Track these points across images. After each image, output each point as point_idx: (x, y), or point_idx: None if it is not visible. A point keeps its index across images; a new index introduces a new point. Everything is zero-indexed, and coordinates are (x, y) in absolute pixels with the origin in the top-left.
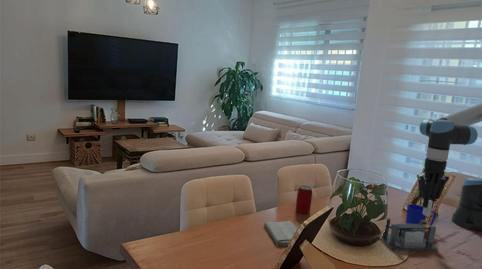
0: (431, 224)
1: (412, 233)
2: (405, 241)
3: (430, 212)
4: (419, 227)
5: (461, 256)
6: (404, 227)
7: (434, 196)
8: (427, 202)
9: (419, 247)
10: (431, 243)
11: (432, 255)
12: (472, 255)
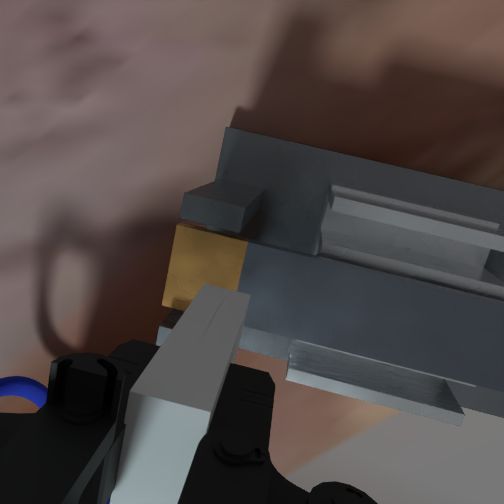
0: (3, 381)
1: (457, 225)
2: (492, 221)
3: (195, 302)
4: (326, 267)
5: (123, 10)
6: (491, 308)
7: (44, 462)
8: (225, 419)
9: (376, 166)
10: (231, 182)
11: (343, 74)
12: (23, 3)
